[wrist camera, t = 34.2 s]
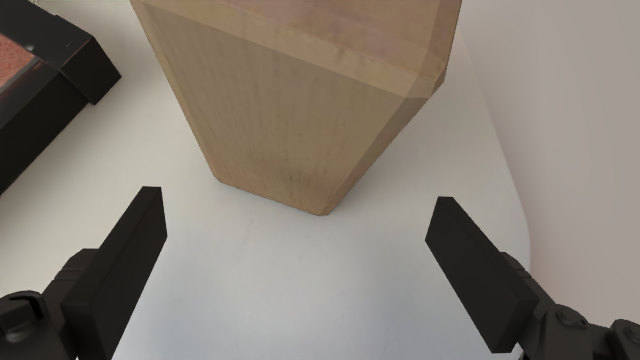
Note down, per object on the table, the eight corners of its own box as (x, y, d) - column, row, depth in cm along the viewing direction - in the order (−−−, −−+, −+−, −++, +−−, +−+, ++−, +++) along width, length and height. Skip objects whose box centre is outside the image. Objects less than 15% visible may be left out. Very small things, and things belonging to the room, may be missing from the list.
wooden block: (360, 118, 31) (503, -137, 12) (328, 221, 28) (455, 91, 9) (255, 80, 31) (237, -244, 12) (210, 181, 28) (89, -44, 9)
